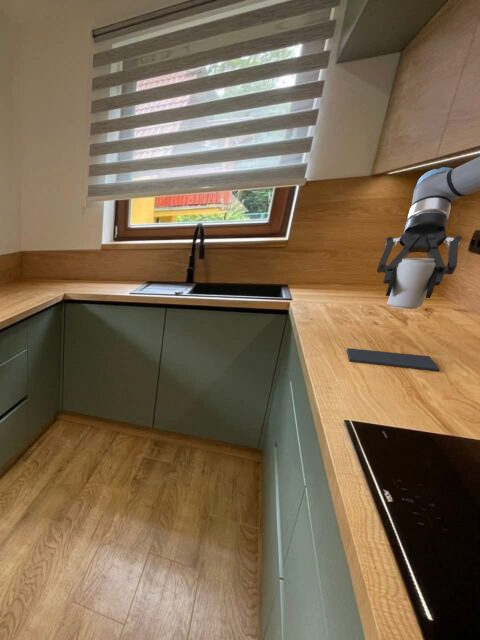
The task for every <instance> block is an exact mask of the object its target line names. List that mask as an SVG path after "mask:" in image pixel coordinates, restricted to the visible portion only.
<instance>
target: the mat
mask: <svg viewBox="0 0 480 640" xmlns="http://www.w3.org/2000/svg"><path fill="white" fill-rule="evenodd" d="M346 353H347V358H348V362H351V363H359V364H369V365H378V366H387V367H395V368H396V367H397V368H405V369H413V370H422V371H429V372H430V371H431V372H440V370H441V369H440V368H439V366H438V365H437V364H436V363H435V361H434V360H433V359H432V357H431V356H430V355H423V354H422V355H421V354H411V353H401V352H391V351H380V350H370V349H361V348H351V347H348V348H346Z"/></svg>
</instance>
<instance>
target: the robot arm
mask: <svg viewBox="0 0 480 640" xmlns="http://www.w3.org/2000/svg"><path fill="white" fill-rule="evenodd" d="M479 191H480V156H478V157H475V158H473V159H472V160H469V161H467V162H465V163H463V164H461V165H459V166H456V167H454V168H452V167H445V166H444V167H440V168H434V169H431V170H429V171H426V172H425V173H424V174H422V175H421V176H420V178H418V180H417V183H416V186H415V187H414V189H413V194H412V201H411V204H410V205H411V206H410V207H409V211H408V215H407V217H406V222H405V225H404V230H403V233H402V235H401V236H400V237H395V238H394V237H392V236H388V237H386V239H385V243H384V248H385V249H384V250H383V253H382V255H381V258H380V260H379V262H378V264H377V265H378V266H377V268H376V272H377V273H382V274H383V273H384V278H383V281H382V282H383V284H385V285H386V284H387V285H388V286H387V289H386V293H385V297H389V296H390V294H391V291H392V287H393V283H394V280H395V276H396V272H397V268H398V265H399V263H400V262H402V259H404V258H408V256H409V255H410V254H411V253H413V254H414V253H422V254H423V253H426V257H428V258H430V259H435V260H434V263H435V267H434V270H433V273H432V276H431V279H430V282H429V285H428V289H427V292H426V295H425V299H431V297H432V295H433V292H434V288H435V287H437V286H438V287H439V286H440V285H441V284H442V282H443V279H444V276H445V275H453V274H454V273H455V270H456V269H457V266H458V251H459V246H460V243H461V242H462V239H463V236H462V235H457V236H455V237H449V236H448V235H447V234H446V231H447V227H448V221H449V218H450V214H451V210H452V205H453V201H456V200H458V199H461V198H463V197H466V196H468V195H470V194H473V193H476V192H479ZM398 244H399V245H401V246H402V247H403V248H402V249H401V250H400V252H399V253H398V254H397V255H396V256H395V257H394V259H392V261H391V262H390V263H389V264H388V265H387V263H388V260H389V258H390V256H391V253H392V250H393V249H394V248H395V247H397V245H398ZM443 244H445V246H446V248H447V249H448V250H447V255H446V265H445V263H444V260H443V258H442V255H441V252H440V250H439V247H440V246H441V245H443Z"/></svg>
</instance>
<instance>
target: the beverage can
mask: <svg viewBox="0 0 480 640" xmlns="http://www.w3.org/2000/svg"><path fill="white" fill-rule="evenodd" d="M434 260H435V259H430V258H429V257H406V258H404V259H402V262H400V263H399V265H398V267H397V268H396V269H397V272H396V276H395V280H394V283H393V287H392V291H391V294H390V296H388V299H387V301H386V302H387V305H388V306H389V307H390V308H394V309H401V310H402V309H403V310H415V309H418V308H419V307H422V306H423V304H424V301H425V299H426V294H427V289H428V285H429V282H430V279H431V276H432V273H433V270H434V267H435V263H434Z"/></svg>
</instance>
